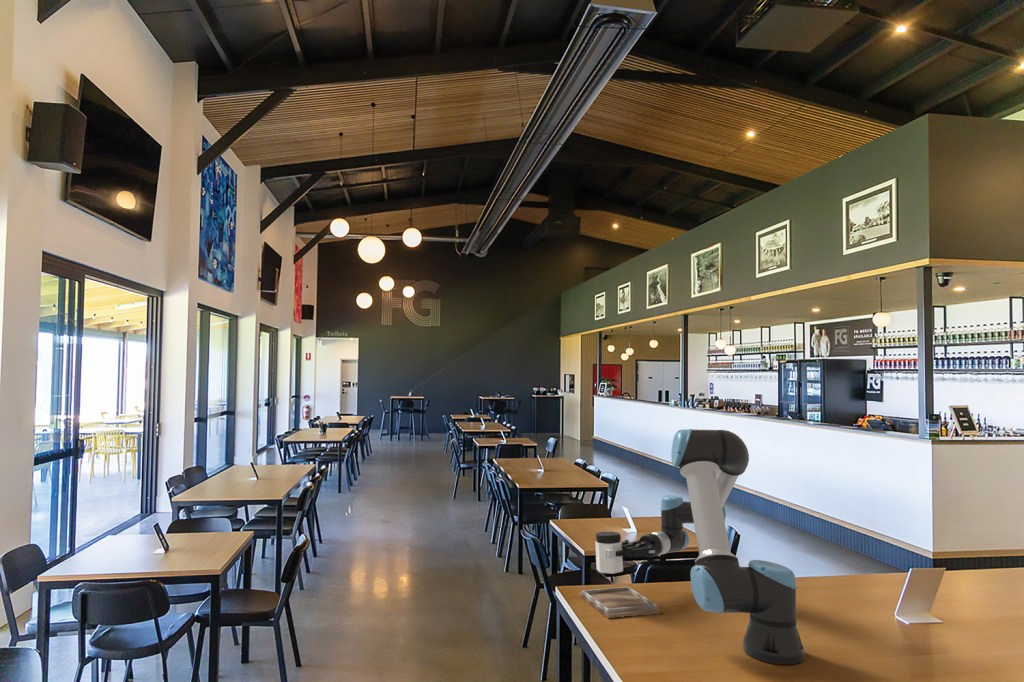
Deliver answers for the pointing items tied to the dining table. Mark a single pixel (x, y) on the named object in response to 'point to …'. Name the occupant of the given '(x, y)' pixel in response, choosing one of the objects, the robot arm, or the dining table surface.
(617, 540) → the jar
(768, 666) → the dining table surface
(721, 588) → the robot arm
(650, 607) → the tray
